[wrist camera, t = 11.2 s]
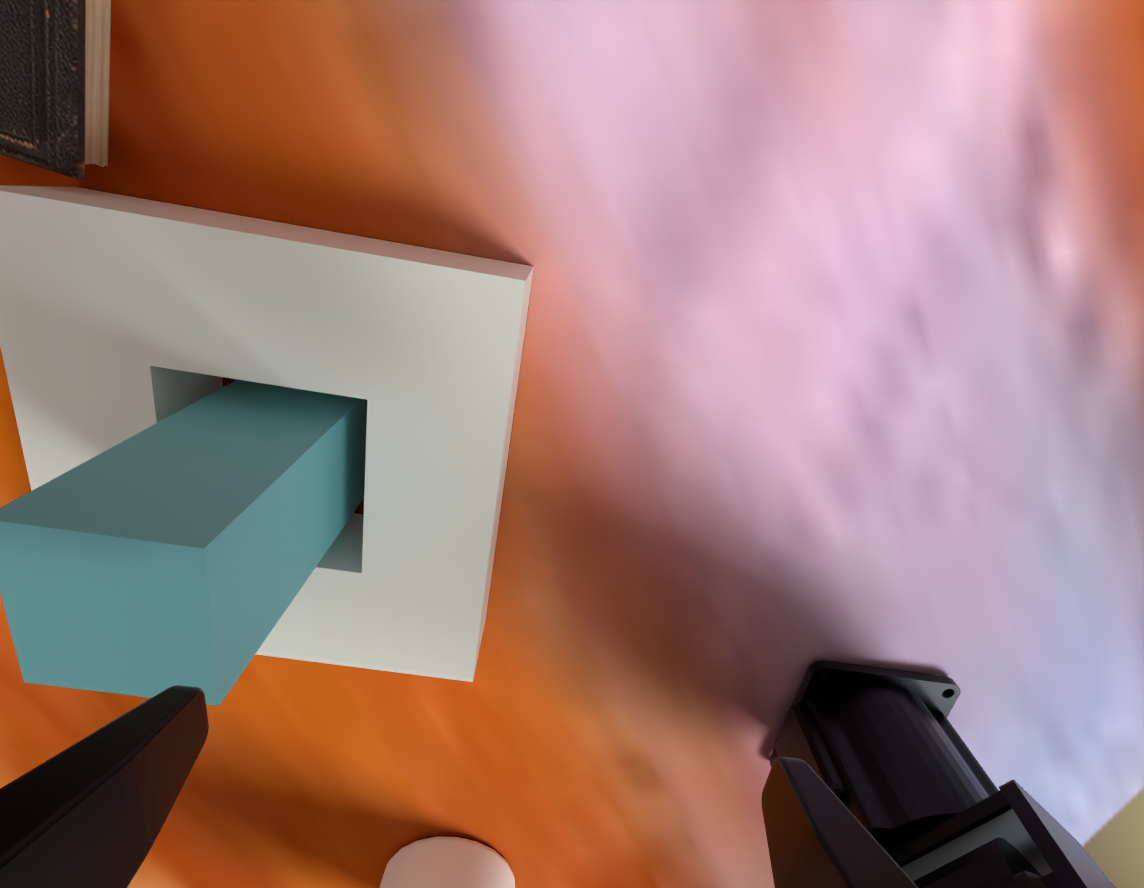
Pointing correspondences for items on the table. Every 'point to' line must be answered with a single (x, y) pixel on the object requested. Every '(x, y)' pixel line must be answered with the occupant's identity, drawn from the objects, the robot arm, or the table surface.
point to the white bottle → (447, 865)
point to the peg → (180, 541)
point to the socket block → (290, 359)
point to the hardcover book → (55, 83)
